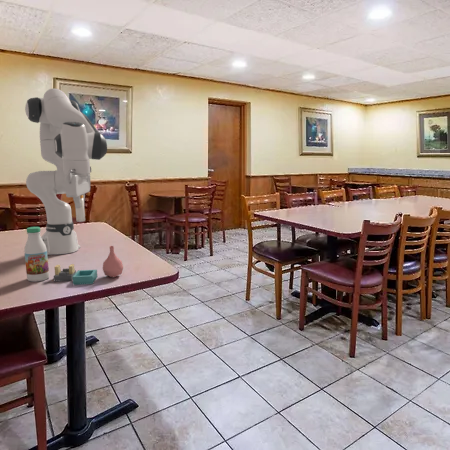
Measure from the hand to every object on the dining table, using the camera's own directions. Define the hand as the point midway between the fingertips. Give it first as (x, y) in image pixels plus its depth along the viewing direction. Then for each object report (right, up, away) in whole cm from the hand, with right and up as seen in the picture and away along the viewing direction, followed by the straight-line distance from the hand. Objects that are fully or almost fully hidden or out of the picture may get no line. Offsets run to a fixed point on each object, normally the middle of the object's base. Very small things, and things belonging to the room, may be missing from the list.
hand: (79, 207), depth 141 cm
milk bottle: (-19, -27, +8) cm, 34 cm away
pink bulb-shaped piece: (+9, -27, +10) cm, 30 cm away
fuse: (0, -5, +1) cm, 5 cm away
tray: (0, -27, +5) cm, 28 cm away
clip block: (-9, -27, +9) cm, 29 cm away
